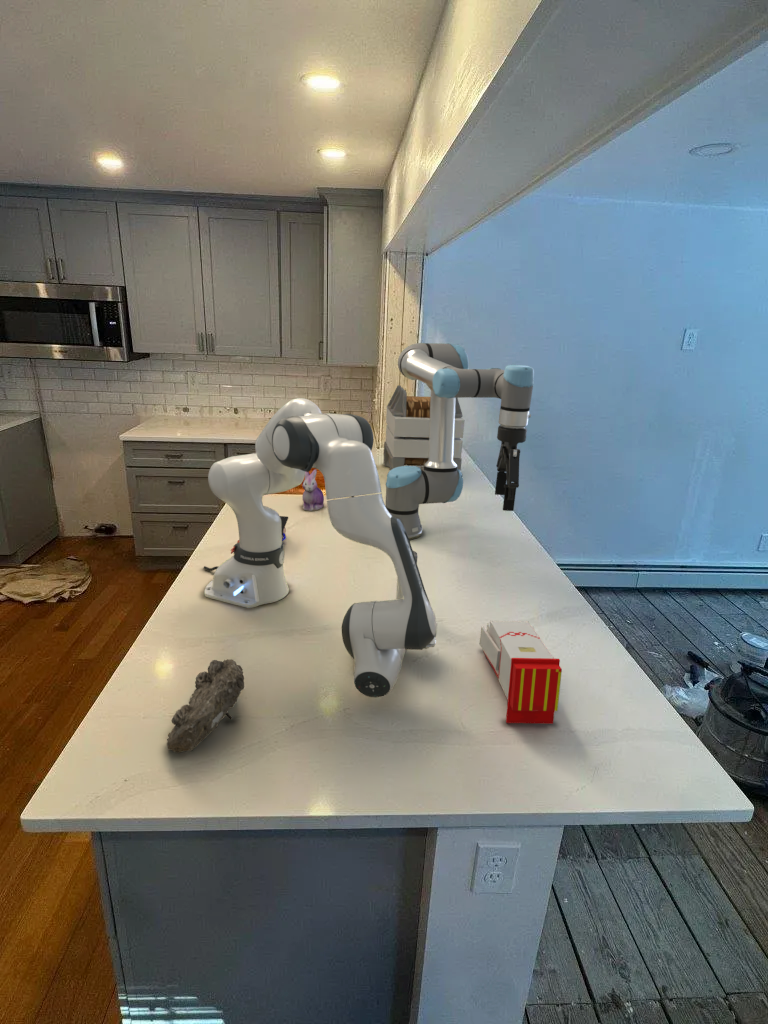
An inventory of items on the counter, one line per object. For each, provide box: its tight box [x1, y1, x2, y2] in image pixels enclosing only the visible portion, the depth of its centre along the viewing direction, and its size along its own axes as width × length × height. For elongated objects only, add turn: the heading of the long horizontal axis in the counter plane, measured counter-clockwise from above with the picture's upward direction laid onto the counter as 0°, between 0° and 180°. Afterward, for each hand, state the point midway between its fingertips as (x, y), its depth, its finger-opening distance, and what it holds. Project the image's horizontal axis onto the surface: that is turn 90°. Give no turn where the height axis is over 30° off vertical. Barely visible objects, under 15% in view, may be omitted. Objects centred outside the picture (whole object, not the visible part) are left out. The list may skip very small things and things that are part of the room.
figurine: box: [302, 468, 325, 511], centre depth 219 cm, size 9×10×15 cm
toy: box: [478, 620, 563, 725], centre depth 121 cm, size 12×13×30 cm
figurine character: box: [279, 515, 289, 543], centre depth 186 cm, size 7×8×15 cm
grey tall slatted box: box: [383, 384, 465, 472], centre depth 268 cm, size 34×33×41 cm
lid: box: [413, 550, 418, 564], centre depth 144 cm, size 5×5×2 cm
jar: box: [395, 576, 403, 600], centre depth 146 cm, size 4×4×16 cm
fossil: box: [166, 658, 245, 754], centre depth 106 cm, size 22×10×15 cm
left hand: (397, 610), depth 136 cm, fingers open, 8 cm apart
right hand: (503, 502), depth 157 cm, fingers open, 13 cm apart
